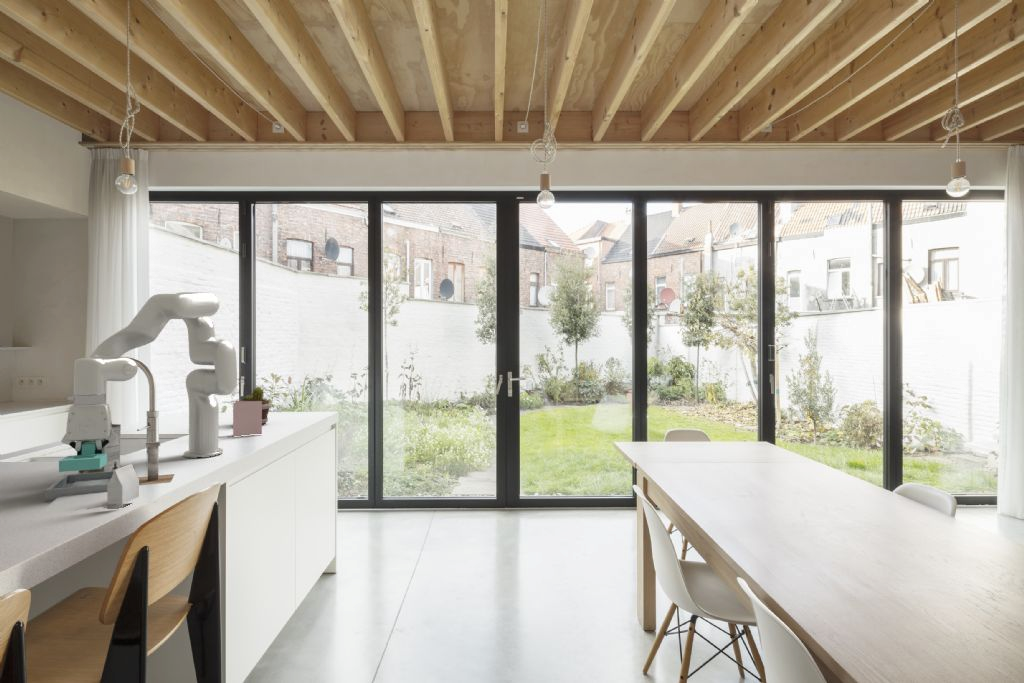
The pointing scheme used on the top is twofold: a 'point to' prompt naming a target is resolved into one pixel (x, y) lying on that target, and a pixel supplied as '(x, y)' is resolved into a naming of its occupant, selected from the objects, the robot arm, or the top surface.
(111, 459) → the coffee box
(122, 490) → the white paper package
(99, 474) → the tray
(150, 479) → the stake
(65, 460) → the collar
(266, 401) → the flowerpot
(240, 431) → the greeting card
